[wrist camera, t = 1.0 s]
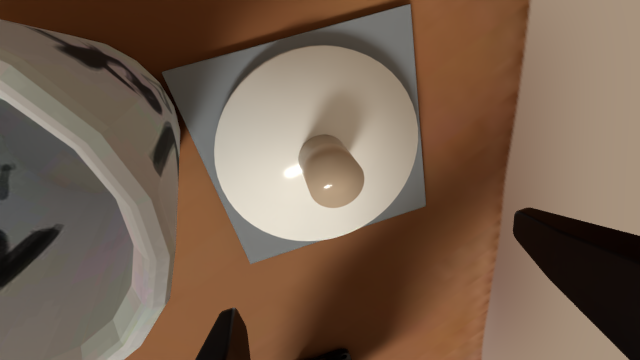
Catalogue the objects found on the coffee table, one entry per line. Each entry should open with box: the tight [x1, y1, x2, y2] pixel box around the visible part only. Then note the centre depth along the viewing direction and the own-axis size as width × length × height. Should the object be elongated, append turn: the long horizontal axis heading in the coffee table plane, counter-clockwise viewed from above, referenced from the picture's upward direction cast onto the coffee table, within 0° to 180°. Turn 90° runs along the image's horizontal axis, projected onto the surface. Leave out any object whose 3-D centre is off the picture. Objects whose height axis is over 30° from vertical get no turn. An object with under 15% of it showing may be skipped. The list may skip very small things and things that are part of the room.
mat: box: [162, 4, 426, 264], centre depth 18 cm, size 12×12×1 cm
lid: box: [214, 45, 418, 241], centre depth 16 cm, size 11×11×4 cm
